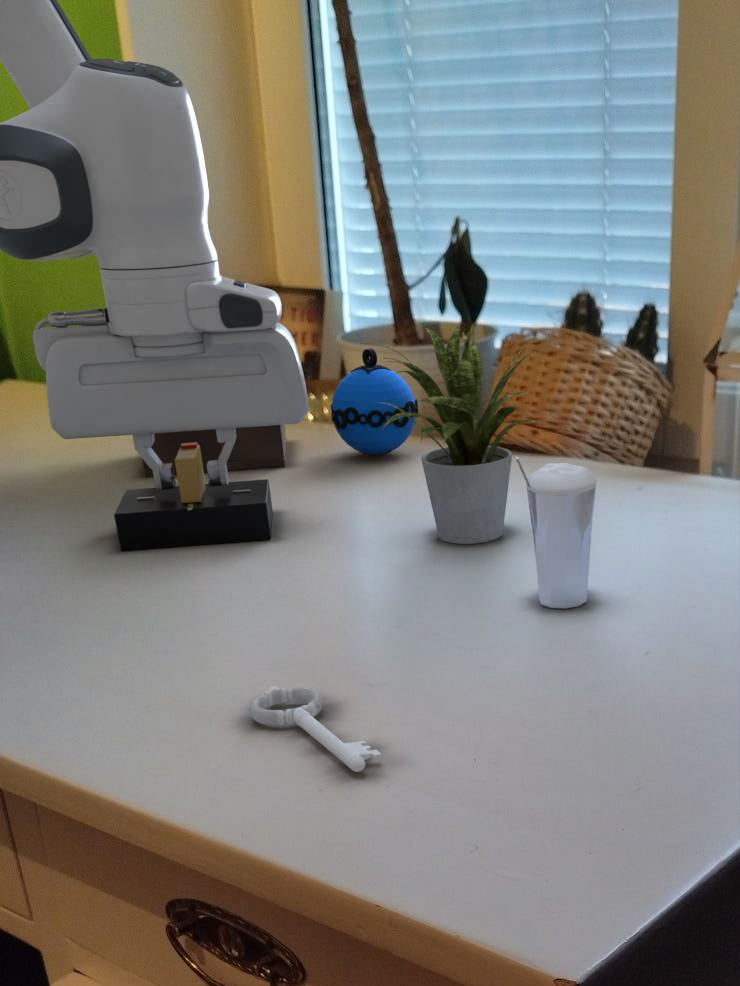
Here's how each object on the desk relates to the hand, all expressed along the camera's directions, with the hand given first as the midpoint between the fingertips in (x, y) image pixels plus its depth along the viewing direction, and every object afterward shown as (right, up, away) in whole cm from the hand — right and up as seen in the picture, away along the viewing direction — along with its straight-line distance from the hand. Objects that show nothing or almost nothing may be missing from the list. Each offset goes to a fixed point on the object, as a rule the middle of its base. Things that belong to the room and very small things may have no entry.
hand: (192, 486), depth 108 cm
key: (+14, -24, -36) cm, 45 cm away
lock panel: (0, -3, +2) cm, 4 cm away
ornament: (+13, +10, +24) cm, 29 cm away
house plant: (+22, -4, -2) cm, 22 cm away
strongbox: (-3, +10, +25) cm, 27 cm away
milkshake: (+29, -13, -18) cm, 36 cm away
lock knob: (0, -1, 0) cm, 1 cm away
